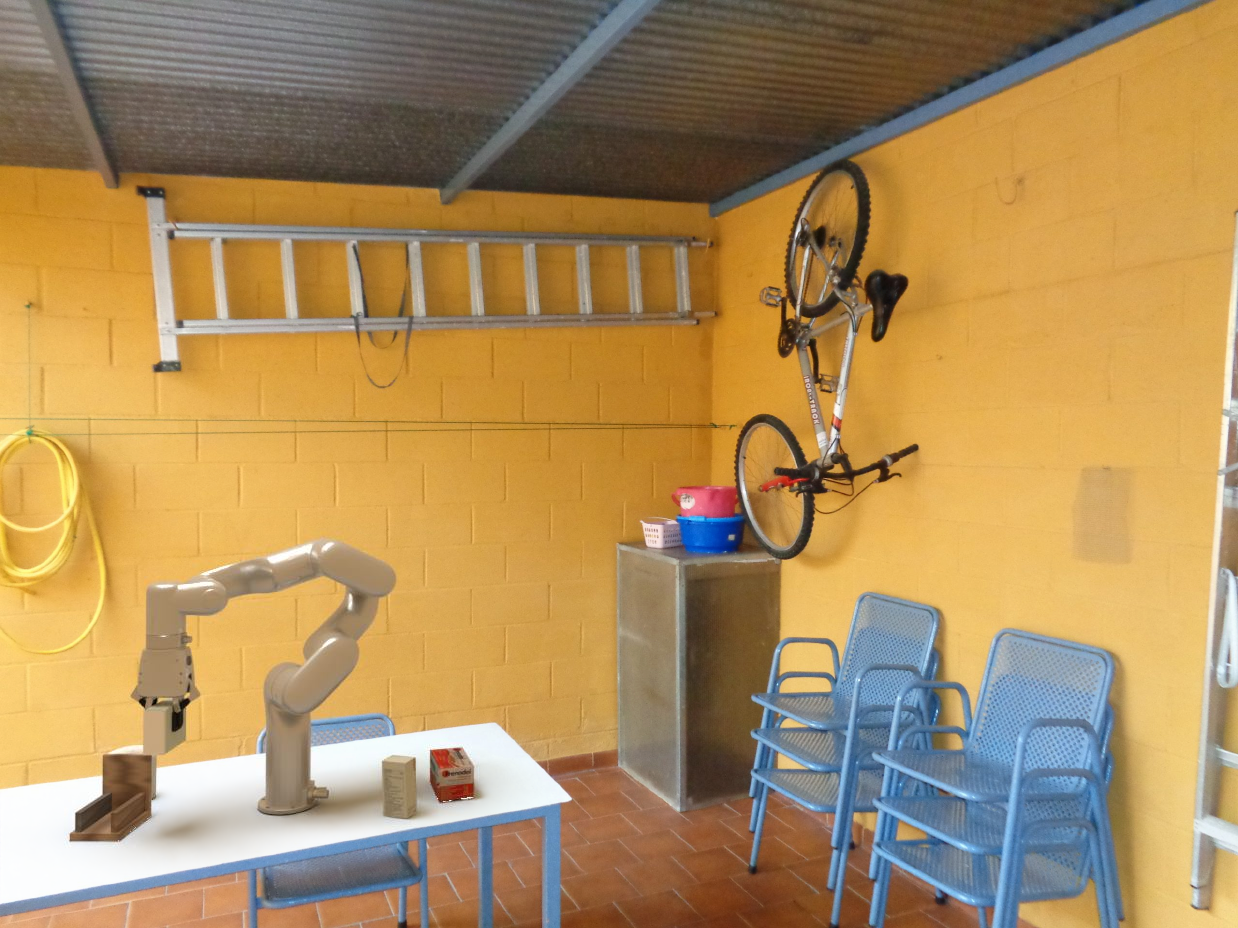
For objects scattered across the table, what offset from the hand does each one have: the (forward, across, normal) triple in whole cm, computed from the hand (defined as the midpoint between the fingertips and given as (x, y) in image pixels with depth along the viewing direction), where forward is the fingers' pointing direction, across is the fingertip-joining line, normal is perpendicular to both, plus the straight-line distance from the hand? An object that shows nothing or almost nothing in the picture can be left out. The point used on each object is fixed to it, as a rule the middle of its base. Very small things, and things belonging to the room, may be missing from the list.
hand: (165, 728), depth 192 cm
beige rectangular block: (+4, 0, 0) cm, 4 cm away
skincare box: (+21, -46, -10) cm, 52 cm away
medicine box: (+22, -55, -24) cm, 64 cm away
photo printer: (+21, +16, -17) cm, 32 cm away
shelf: (+21, +12, -2) cm, 24 cm away
